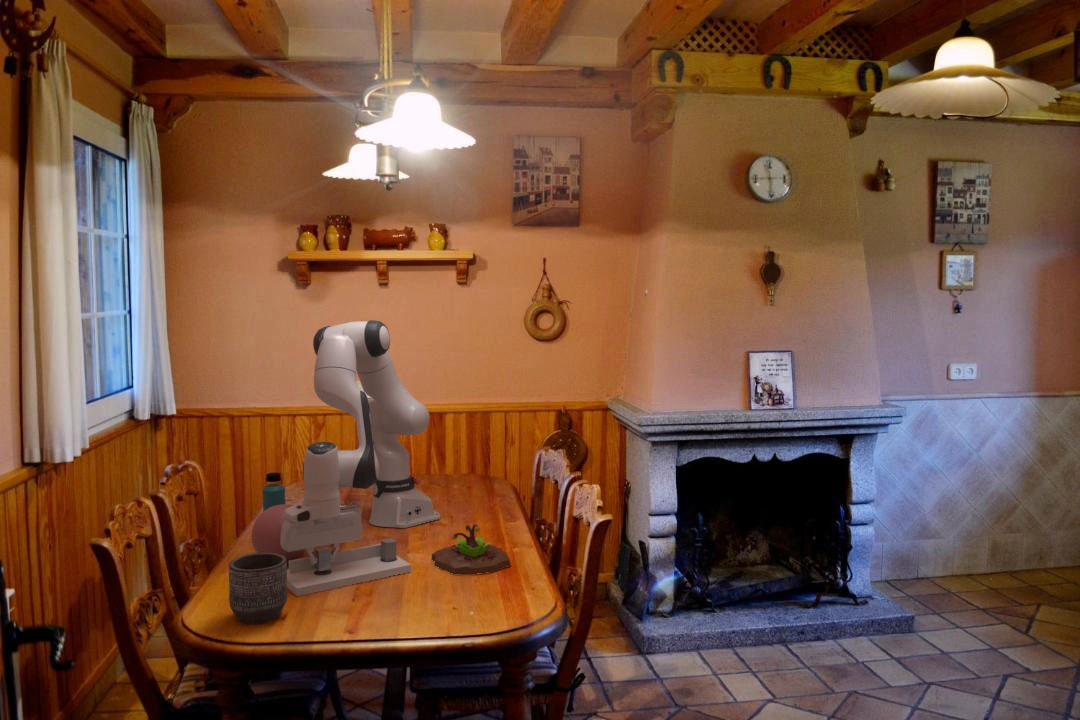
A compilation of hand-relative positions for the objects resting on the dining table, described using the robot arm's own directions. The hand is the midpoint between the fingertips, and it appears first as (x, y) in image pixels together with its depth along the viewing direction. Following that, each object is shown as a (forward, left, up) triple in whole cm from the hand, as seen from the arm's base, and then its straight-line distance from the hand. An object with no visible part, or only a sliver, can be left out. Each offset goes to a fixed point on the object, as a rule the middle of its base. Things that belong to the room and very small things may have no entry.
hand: (322, 562), depth 201 cm
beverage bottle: (0, -38, -5) cm, 38 cm away
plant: (-38, +9, -5) cm, 40 cm away
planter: (+20, +14, -5) cm, 25 cm away
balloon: (+2, -18, -5) cm, 19 cm away
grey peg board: (-6, 0, -5) cm, 8 cm away
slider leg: (0, -1, -2) cm, 2 cm away
